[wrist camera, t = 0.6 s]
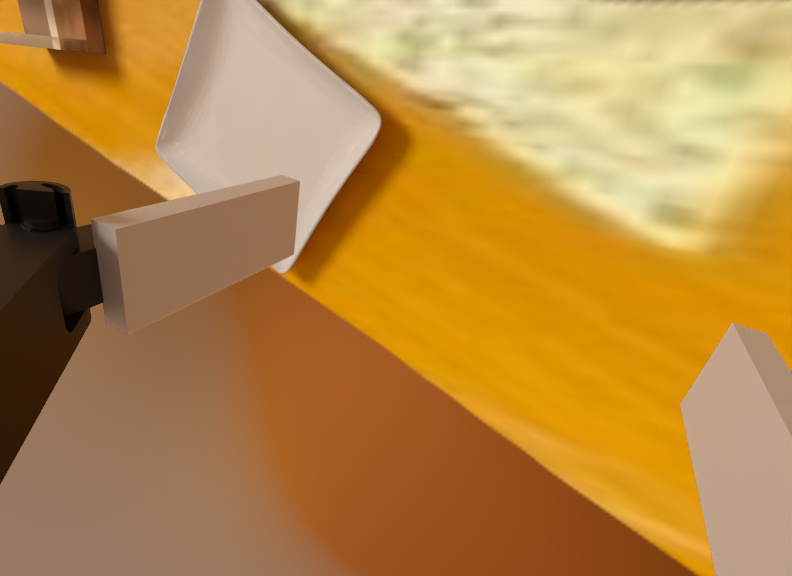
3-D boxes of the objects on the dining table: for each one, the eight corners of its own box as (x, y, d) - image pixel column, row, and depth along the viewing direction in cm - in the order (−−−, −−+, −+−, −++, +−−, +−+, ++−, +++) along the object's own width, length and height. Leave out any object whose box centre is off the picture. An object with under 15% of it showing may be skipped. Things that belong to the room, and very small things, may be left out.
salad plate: (299, 271, 52) (281, 280, 49) (174, 148, 53) (149, 151, 50) (402, 118, 40) (386, 119, 37) (239, -33, 42) (211, -43, 39)
